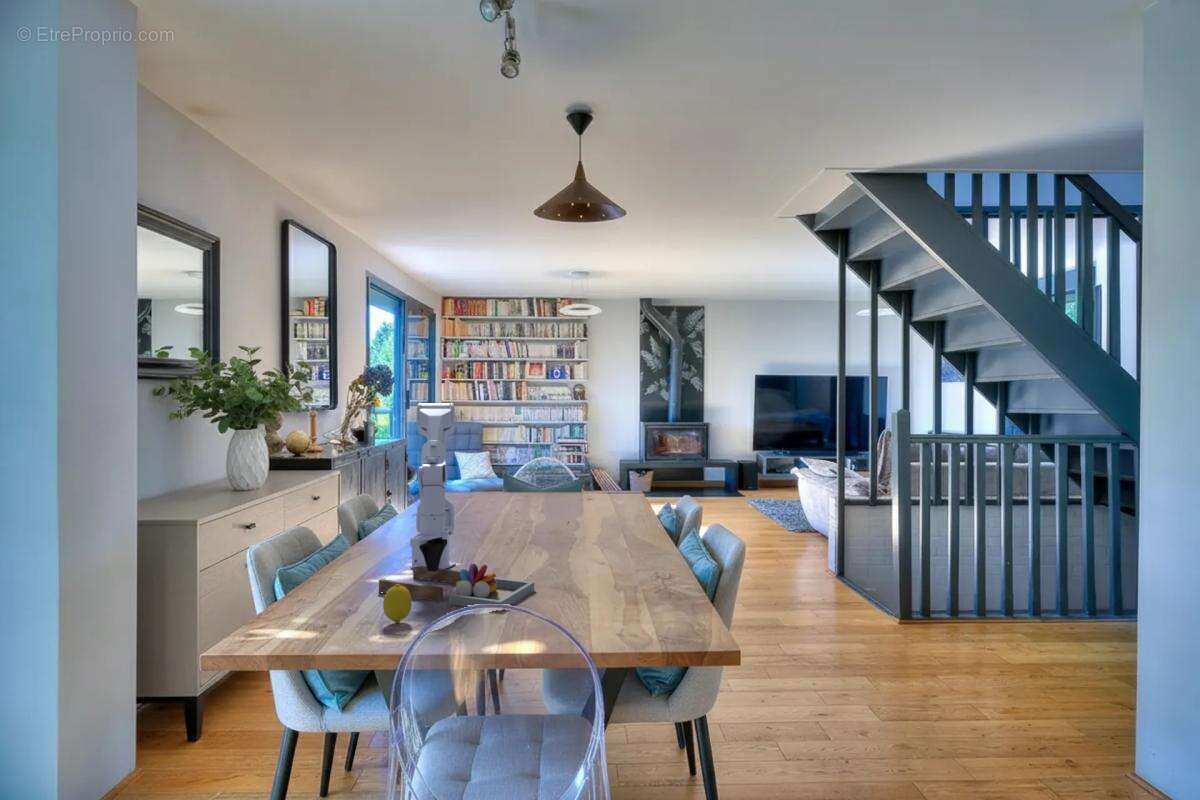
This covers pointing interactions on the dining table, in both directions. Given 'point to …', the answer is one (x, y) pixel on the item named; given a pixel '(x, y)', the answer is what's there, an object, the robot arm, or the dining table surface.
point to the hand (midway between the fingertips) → (432, 570)
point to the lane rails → (422, 589)
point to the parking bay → (521, 591)
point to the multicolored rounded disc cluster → (476, 582)
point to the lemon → (397, 603)
